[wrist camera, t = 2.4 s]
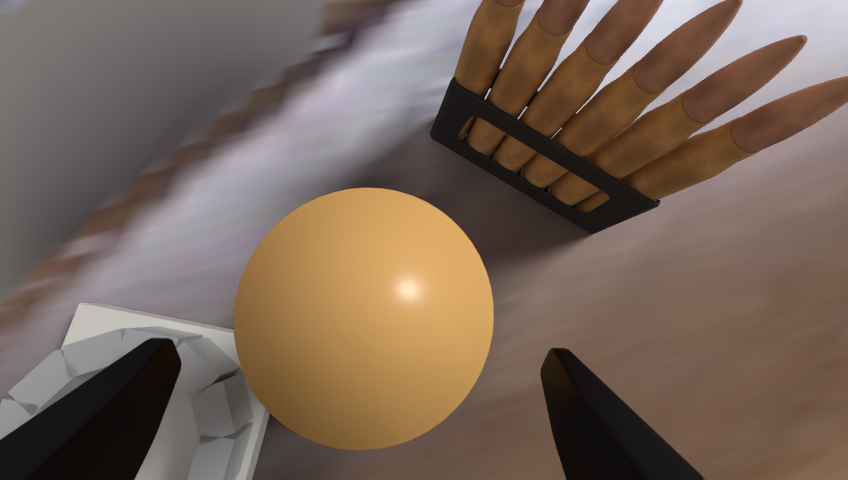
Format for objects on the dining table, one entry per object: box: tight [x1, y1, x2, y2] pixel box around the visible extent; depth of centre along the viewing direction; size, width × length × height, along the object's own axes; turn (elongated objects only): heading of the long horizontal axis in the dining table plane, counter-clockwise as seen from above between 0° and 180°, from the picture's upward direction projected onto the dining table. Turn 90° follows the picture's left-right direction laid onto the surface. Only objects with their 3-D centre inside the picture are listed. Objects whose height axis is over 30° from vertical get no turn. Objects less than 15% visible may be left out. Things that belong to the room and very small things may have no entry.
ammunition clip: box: [430, 0, 848, 234], centre depth 14 cm, size 11×2×12 cm, turn 60°
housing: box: [0, 303, 270, 480], centre depth 14 cm, size 9×9×3 cm
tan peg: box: [233, 188, 494, 450], centre depth 11 cm, size 6×6×13 cm
